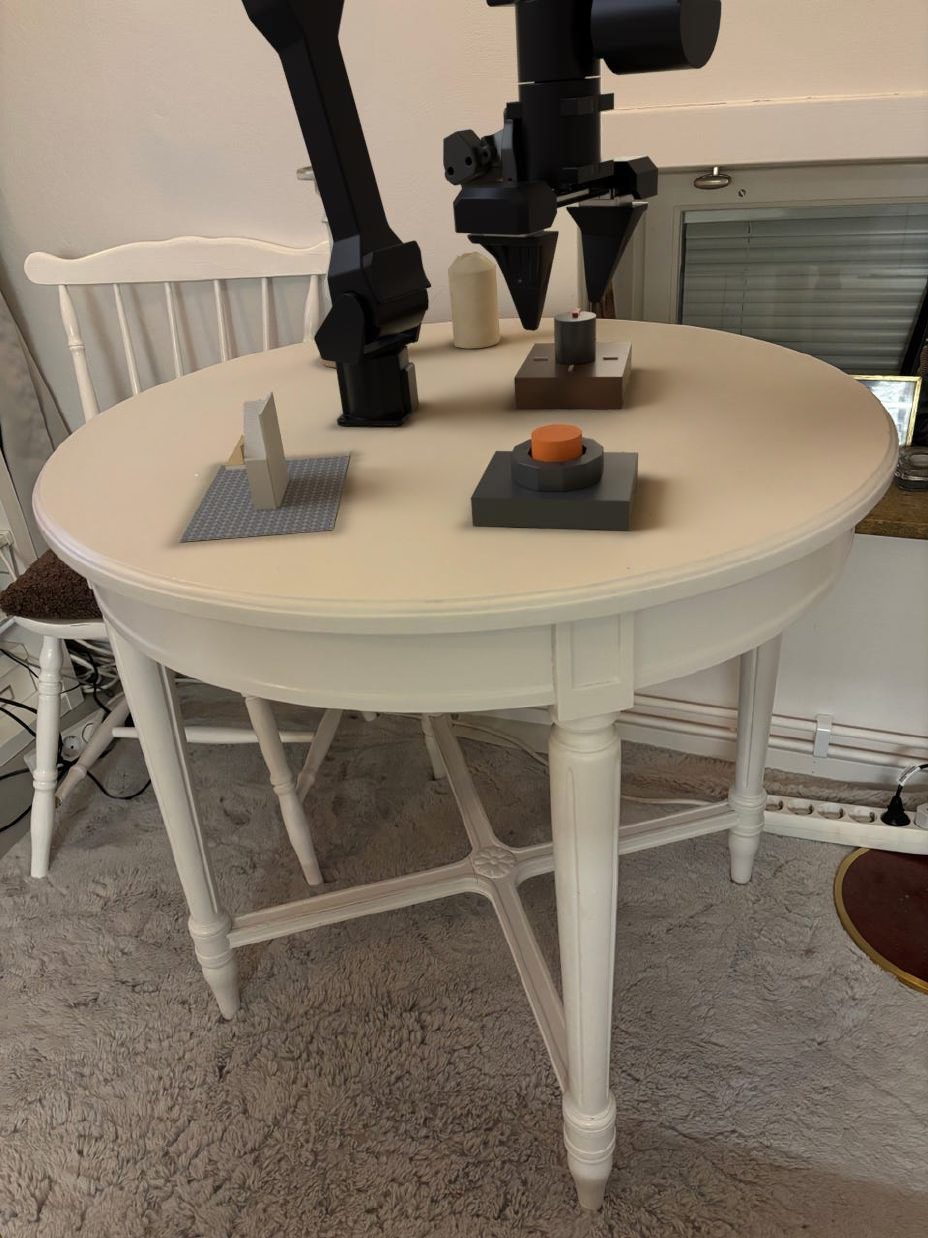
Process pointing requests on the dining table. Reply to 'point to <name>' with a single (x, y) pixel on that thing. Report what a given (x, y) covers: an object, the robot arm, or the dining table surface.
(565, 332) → the knob
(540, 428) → the spray button
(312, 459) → the architectural model
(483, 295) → the candle
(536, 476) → the push button base
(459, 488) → the dining table surface
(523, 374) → the panel
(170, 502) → the dining table surface
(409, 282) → the robot arm
